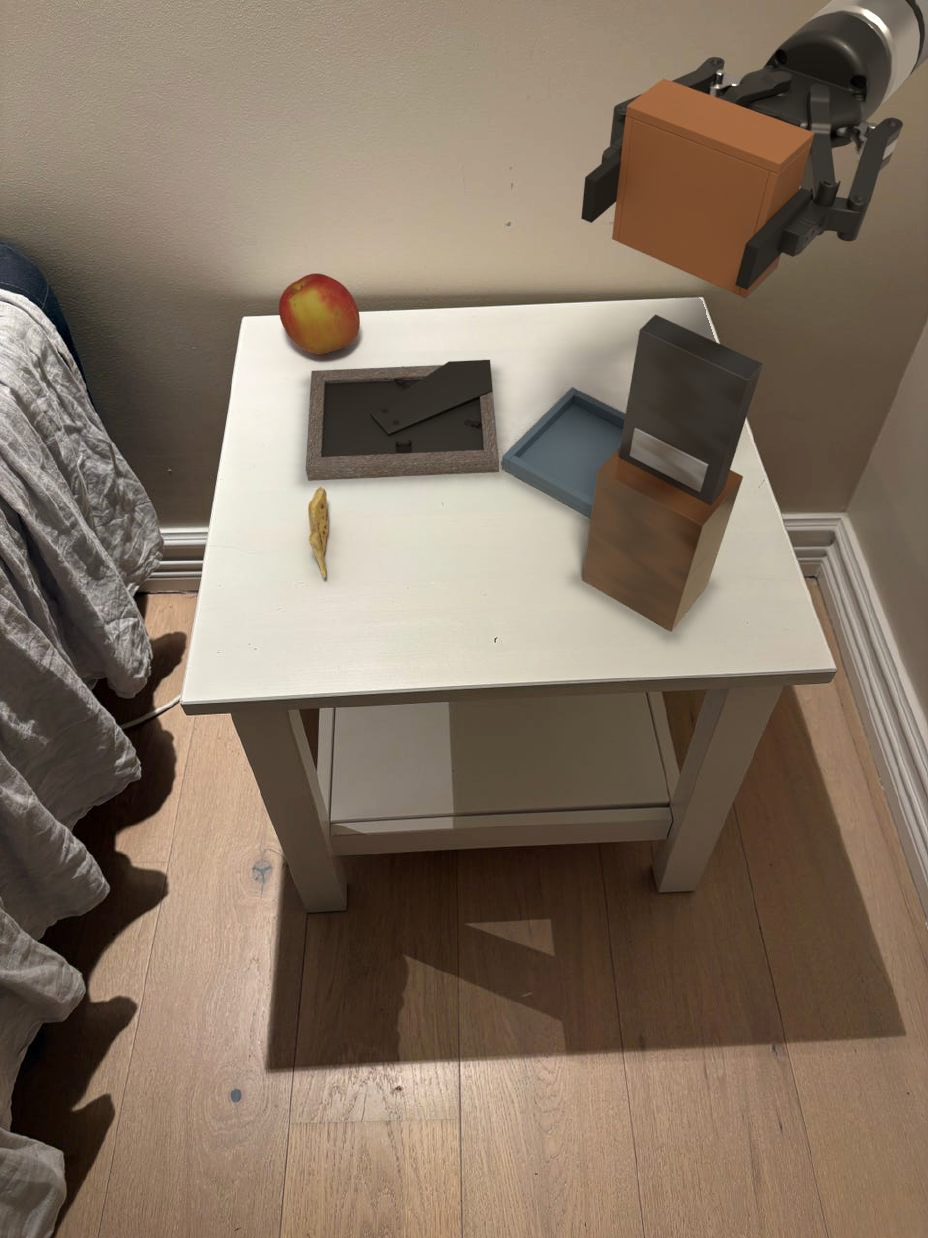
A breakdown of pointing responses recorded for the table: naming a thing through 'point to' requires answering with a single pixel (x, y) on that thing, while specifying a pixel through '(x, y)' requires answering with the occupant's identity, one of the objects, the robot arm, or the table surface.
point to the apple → (319, 314)
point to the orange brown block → (703, 180)
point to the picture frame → (402, 421)
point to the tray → (567, 449)
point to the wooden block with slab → (670, 473)
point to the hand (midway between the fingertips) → (664, 232)
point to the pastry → (318, 526)
